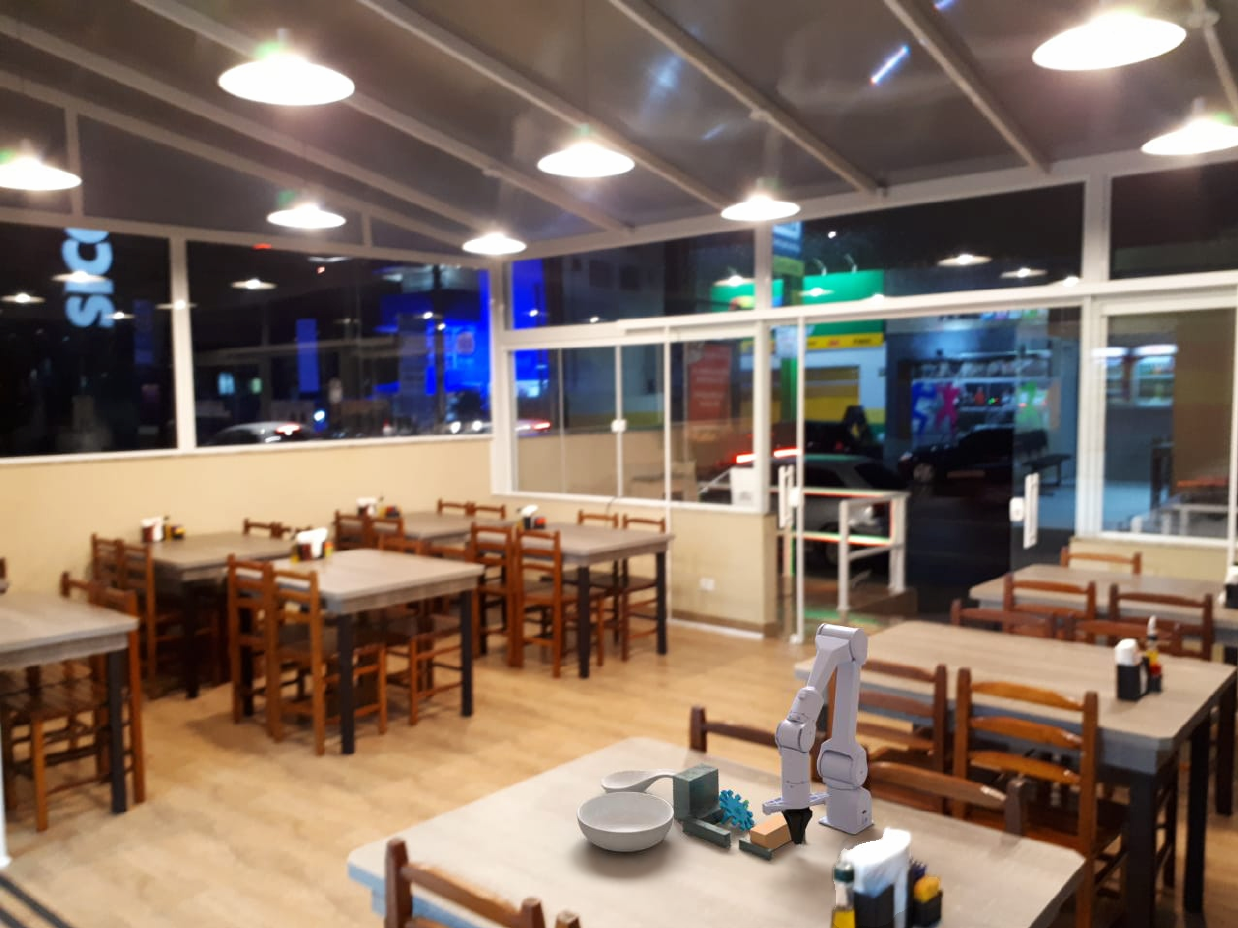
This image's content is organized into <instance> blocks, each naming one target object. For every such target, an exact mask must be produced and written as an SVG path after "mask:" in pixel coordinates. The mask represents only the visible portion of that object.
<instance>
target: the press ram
mask: <svg viewBox="0 0 1238 928" xmlns="http://www.w3.org/2000/svg"><path fill="white" fill-rule="evenodd" d="M749 841H752V842H754V843H757V844H759V845H762V846H764V847H767V848H769V849H772V851H773V850H776V849H777V848H779V847H781V846H783V845H784V844H786V843H788V842H790V841H792V839H791V835H790V831H789V828H788V825H787V823H786V820H785V818H784V816H783V814H777V815H774V816H773V817H771V818H769V819H767V820H765V821H764V822H762V823H759V824H757V825H756V826H754V827H752V829H750V830H749Z"/></svg>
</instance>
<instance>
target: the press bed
mask: <svg viewBox="0 0 1238 928" xmlns="http://www.w3.org/2000/svg"><path fill="white" fill-rule="evenodd" d="M679 772H680V773H678V774H675V775H673V779H672V799H673V801H672V802H673V805H672V807H673V810H674V818H673V820H676V821H679V822H680V823H682V832H683V833H685V832H686V833H685V834H687V833H688V834H687V835H690V836H693V837H695V838H698V839H699V840H702V841H704V842H707V843H709V844H712V845H714V846H717V847H719V848H722V849H724V850H725V849H728V848H729V847H731V846H732V845H731V844H732V839H731V838H732V834H731V831H729V830H727V829H725V828H722V827H719V826H717V825H718V824H721V823H720V821H721V820H722V819H723V818H724V817H725V816H724V814H723V813H725V812H726V810H724V809H721V808H719V803H721V801H720V800H719V799H718V797H719V796H720V783H719V768H717V767H715V766H711V765H709V764H706V763H703V762H702V763H701V762H700V763H699V764H696V765H694V766H691V767H690V768H687V769H685V770H682V771H679ZM806 835H807V834H806V831H805V833H804V837H803V841H802V843H803V842H805V841H806V840H807V839H806V837H807V836H806ZM738 849H739V850H741V851H744V852H747V853H749V854H752V855H754V856H757V857H759V858H761V859H763V860H767V861H770V862H771V861H772V860H773V850H772V849H769V848H767V847H764V846H762V845H759V844H757V843H754V842H752V841H750V839H749V840H748V839H747V838H744V837H740V838H739V839H738Z"/></svg>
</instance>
